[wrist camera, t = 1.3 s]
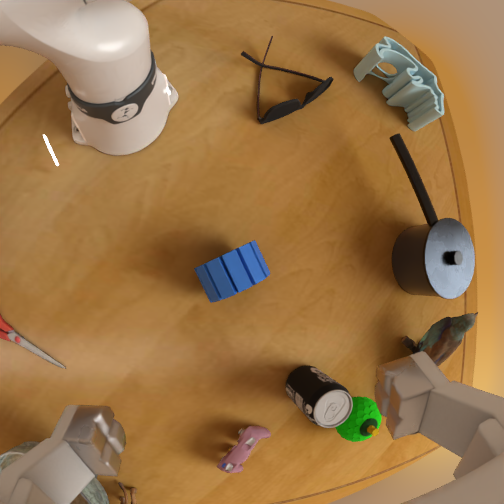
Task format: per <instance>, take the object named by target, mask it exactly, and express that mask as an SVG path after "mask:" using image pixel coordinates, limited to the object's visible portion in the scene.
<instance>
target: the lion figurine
mask: <svg viewBox="0 0 504 504" xmlns="http://www.w3.org/2000/svg"><path fill="white" fill-rule="evenodd" d="M118 484H119V486H120V487H121V489H122V490H123V492H124V496H125V498H124V497H120V501H121V503H120V504H128V496H127V492H126V490H125V488H124V486H123V484H122V483H120V482H119V483H118ZM130 491H131V493H130V494H131V499H132V501H131V504H137V502H136V498H135V493H136V492H137V490H136V488H131V490H130Z"/></svg>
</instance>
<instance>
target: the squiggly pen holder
mask: <svg viewBox="0 0 504 504" xmlns="http://www.w3.org/2000/svg"><path fill="white" fill-rule="evenodd" d="M381 62H387V63H390V64H392V65H393V66H394V67H395V68H396V69H397V73H396V74H388V73H386V72H385V71H383V70H382V69H381V68H380V67H379V66H378V65H377V64H378V63H381ZM374 67H377V68H378V69H380V70H381V71H382V72H383V73H384V74H385V75H386V76H387V77H388V78H384V77H381V76H378V75H376V74H375V73H374V72H372V71H371V70H372V69H373V68H374ZM366 74H370V75H374V76H377V77H379V78H381V79H382V80H384V81H386V82H387V83H388V84H389V85H387V86H386V87H385V88H384V89H383V90H382V93H383V95H384V96H385V97H386V98H388V99H389V100H387V101H386V103H387V104H388V105H390V106H400V107H404V108H405V109H404V110H405V112H407V113H408V114H407V115H408V120H407V121H408V122H409V124H408V125H407V126H408V127H409V128H410V129H411V130H413V131H417V130H418V129H420V128H422V127H424V126H425V125H427V124H429V123H430V122H432V121H434V120H435V119H437V118H439V117H441V116H442V115H444V105H443V98H444V95H443V93H442V92H441V91H440V89H439V88H438V86H437V77H436V76H435V75H434V74H433V73H432V72H431V71H429V70H428V69H427V68H426V67H424V66H423V65H422V64H421V63H420V62H418V61H417V60H416V59H415V58H414V57H413V56H412V55H411V54H410V53H409V52H408V51H407V50H406V49H405V48H404V47H403V46H401V45H400V44H399V43H397V42H396V41H394V40H393V39H391V38H388V37H384V38H383V39H382V40H381V41H380V42H379V43H378V44H376V45H375V46H374V47H373V48H372V49H371V50H370V52H369V53H368V54H367V55H366V56H365V57H364V58H363V59H362V60H361V62H360V63H359V64H358V65H357V66H356V67H355V68H354V76H355V78H356V79H357V80H358V81H359V82H360V81H361V80H362V79H363V78H364V77H365V75H366Z"/></svg>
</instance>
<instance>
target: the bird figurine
mask: <svg viewBox="0 0 504 504" xmlns="http://www.w3.org/2000/svg"><path fill="white" fill-rule="evenodd" d="M477 314H478V312H477V313H475V314H473V313H471V314H465V315H462V316H459V317H452V318H450V317H446V318H443V319H441V320H440V321H438V322H436V323H435V324H433V325H432V326H431V328H430V329H429V330H428V331H427V332H426V334H425V335H424V336H423V338H422V339H421V340H420V342H419V344H418V345H416V344H415V342H414V341H413V340H412V339H409V338H408V337H407V336H405V337H404V338H403V339H402V341H401V342H402V343H403V344H404V345H405V346H406V347H407V348H409V349H410V350H411V351H412V352H413V354H415V353H418V352H421V351H424V352H426V354H427V355H428V356H429V357H430V358H431V360H432V361H433V362H434V363H435V364H436V366H439V365H440V364H441V363H442V362H444V361H445V360H446V359H447V358H448V357H449V356H450V355H451V354H452V353H453V352H454V351H455V350H456V349H457V347H458V346H459V345H460V344H461V342H462V339H463V336H464V333H465V332H466V331H468V330H469V329H470V328H472V326H473V325H474V323H475V317H476V316H477Z"/></svg>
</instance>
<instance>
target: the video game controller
mask: <svg viewBox="0 0 504 504" xmlns="http://www.w3.org/2000/svg"><path fill="white" fill-rule="evenodd" d="M242 430H243V428H242V429H240V430H239V432H238V434H239V433H240V437H239V440H238V441H237V442H238V445H237V446H236V445H235V446H234V447H233V448H231V447H230V448H229V449H228V451H229V452H228V453H227V454H226V455H225V456H224V457H223V458H222V459H221V460H220V463H219V464H218V465H217V467H218V468H219V469H220V470H222V471H224V472H227V473H233V472H241V471H243V467H242V465H240V464H241V463H243V462H244V461H245V460H247V458H248V457H249V455H250V452H251V450H252V449H253V448H254V446H255V445H256V444H257V442H258V440H259V439H262V438H269V437H270V436H271V433H270V431H269V430H268V429H266V428H264V427H260V426H249V427H248V428H247V429H245V430H243V431H242Z"/></svg>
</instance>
